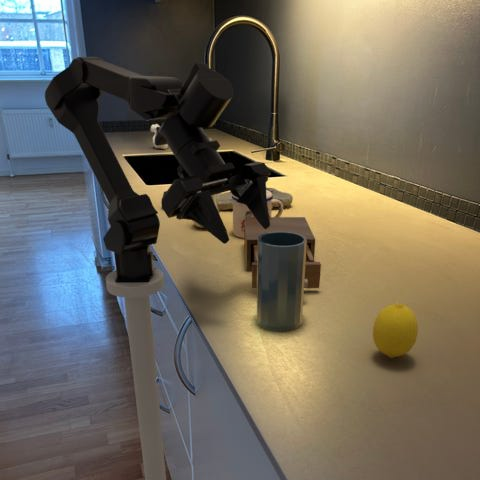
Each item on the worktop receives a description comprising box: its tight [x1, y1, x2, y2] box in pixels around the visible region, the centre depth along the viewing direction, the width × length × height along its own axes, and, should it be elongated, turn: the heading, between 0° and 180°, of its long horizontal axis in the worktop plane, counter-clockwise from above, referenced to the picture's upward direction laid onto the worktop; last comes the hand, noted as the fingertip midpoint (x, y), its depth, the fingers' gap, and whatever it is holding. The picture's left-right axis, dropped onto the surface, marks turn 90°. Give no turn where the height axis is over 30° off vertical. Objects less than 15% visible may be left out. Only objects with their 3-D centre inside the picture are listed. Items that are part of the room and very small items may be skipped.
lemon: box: [372, 302, 419, 359], centre depth 66 cm, size 6×6×8 cm
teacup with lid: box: [232, 190, 284, 239], centre depth 114 cm, size 12×9×12 cm
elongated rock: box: [217, 186, 293, 211], centre depth 136 cm, size 35×5×10 cm
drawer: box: [251, 244, 322, 290], centre depth 89 cm, size 18×11×4 cm, turn 1°
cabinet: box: [243, 216, 316, 272], centre depth 101 cm, size 15×13×6 cm
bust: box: [150, 123, 169, 150], centre depth 224 cm, size 12×8×11 cm
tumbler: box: [256, 232, 307, 332], centre depth 75 cm, size 7×7×13 cm
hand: (248, 234), depth 76 cm, fingers open, 9 cm apart
